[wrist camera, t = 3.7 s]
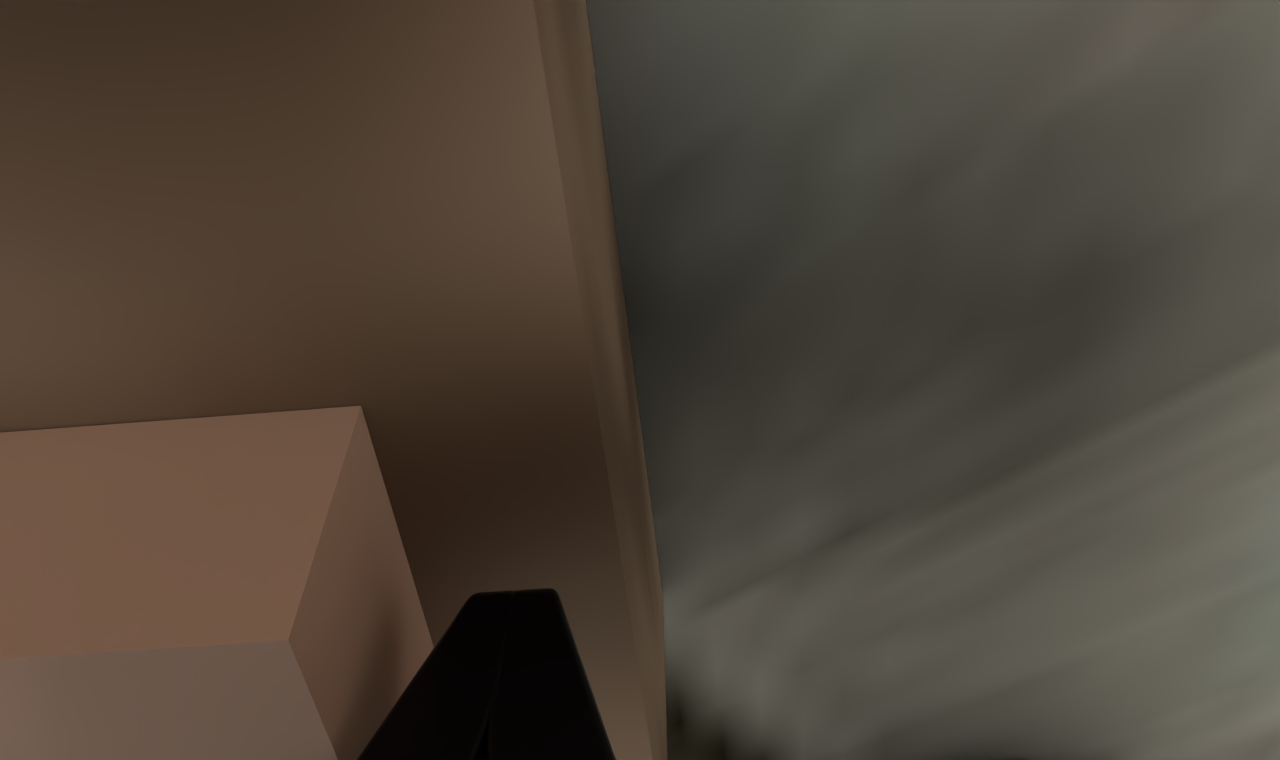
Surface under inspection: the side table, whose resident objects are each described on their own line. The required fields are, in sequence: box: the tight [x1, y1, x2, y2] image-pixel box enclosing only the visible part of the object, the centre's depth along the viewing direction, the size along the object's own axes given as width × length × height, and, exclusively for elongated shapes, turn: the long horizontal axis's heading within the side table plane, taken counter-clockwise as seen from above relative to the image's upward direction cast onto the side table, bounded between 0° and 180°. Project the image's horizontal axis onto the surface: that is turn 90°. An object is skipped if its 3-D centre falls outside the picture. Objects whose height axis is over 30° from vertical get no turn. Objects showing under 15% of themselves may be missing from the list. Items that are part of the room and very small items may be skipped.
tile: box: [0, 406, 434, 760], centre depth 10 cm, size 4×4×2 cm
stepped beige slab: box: [0, 0, 667, 760], centre depth 13 cm, size 11×9×4 cm
